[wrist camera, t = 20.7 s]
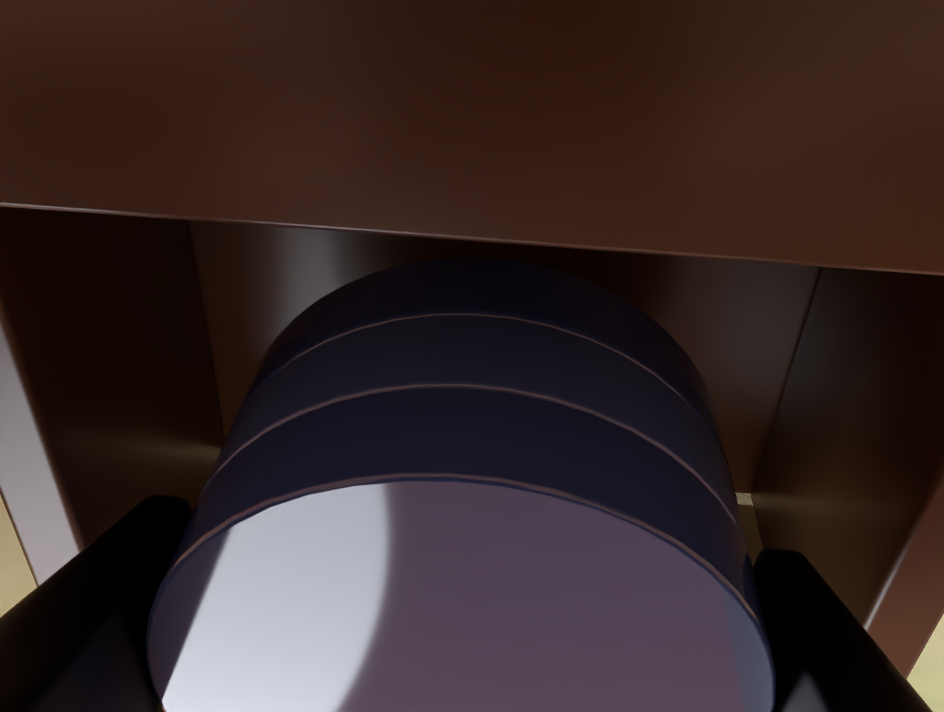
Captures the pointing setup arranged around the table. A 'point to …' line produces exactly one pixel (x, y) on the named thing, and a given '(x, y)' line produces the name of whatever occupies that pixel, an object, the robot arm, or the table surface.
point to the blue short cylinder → (466, 514)
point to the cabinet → (494, 121)
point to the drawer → (359, 254)
